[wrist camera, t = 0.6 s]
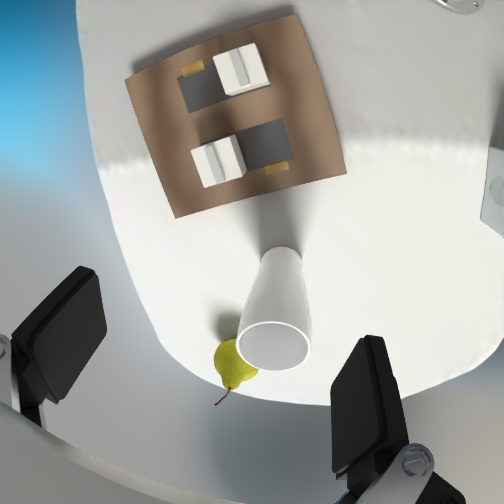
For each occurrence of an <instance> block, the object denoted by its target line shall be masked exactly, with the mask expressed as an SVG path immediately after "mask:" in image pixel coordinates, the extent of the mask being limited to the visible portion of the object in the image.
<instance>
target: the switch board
mask: <svg viewBox="0 0 504 504" xmlns="http://www.w3.org/2000/svg"><path fill="white" fill-rule="evenodd" d="M253 43H255V45H256V46H257V48H258V50H259V53H260V56H261V58H262V61H263V64H264V67H265V70H266V72H267V75H268V78H269V81H270V84H269V85H265V86H262V87H258V88H255V89H252V90H248V91H245V92H242V93H239V94H236V95H233V96H231V95H227V94H226V93H225V90H224V88H223V85H222V82H221V79H220V76H219V73H218V71H217V68H216V65H215V62H214V59H213V57H214V56H217V55H219V54H222V53H225V52H228V51H230V50H233V49H236V48H240V47H243V46H246V45H249V44H253ZM124 81H125V84H126V87H127V90H128V93H129V96H130V99H131V102H132V105H133V108H134V111H135V114H136V116H137V119H138V122H139V125H140V128H141V131H142V133H143V136H144V139H145V142H146V144H147V147H148V150H149V153H150V155H151V158H152V161H153V163H154V166H155V169H156V171H157V174H158V176H159V179H160V181H161V184H162V187H163V189H164V192H165V194H166V197H167V199H168V202H169V204H170V206H171V209H172V211H173V214H174V216H175V219H176V218H180V217H183V216H186V215H190V214H193V213H196V212H200V211H203V210H207V209H210V208H214V207H217V206H221V205H224V204H228V203H231V202H235V201H239V200H242V199H246V198H250V197H253V196H257V195H261V194H265V193H269V192H272V191H276V190H280V189H284V188H288V187H292V186H296V185H300V184H305V183H309V182H313V181H317V180H322V179H326V178H330V177H335V176H339V175H344V174H347V171H346V167H345V163H344V158H343V154H342V150H341V146H340V142H339V138H338V135H337V131H336V127H335V123H334V120H333V116H332V113H331V109H330V106H329V103H328V99H327V96H326V93H325V90H324V86H323V83H322V80H321V77H320V74H319V71H318V68H317V65H316V63H315V60H314V57H313V54H312V51H311V49H310V46H309V43H308V41H307V38H306V35H305V33H304V30H303V28H302V25H301V23H300V20H299V18H298V16H297V14H295V15H290V16H286V17H281V18H277V19H273V20H269V21H266V22H262V23H258V24H255V25H252V26H248V27H245V28H242V29H239V30H235V31H232V32H230V33H227V34H224V35H221V36H218V37H215V38H213V39H210V40H207V41H205V42H202V43H200V44H197V45H195V46H192V47H190V48H188V49H185V50H183V51H181V52H179V53H176V54H174V55H172V56H170V57H168V58H166V59H163V60H161V61H159V62H157V63H155V64H153V65H151V66H149V67H147V68H146V69H144V70H142V71H140V72H138V73H136V74H134V75H133V76H131V77H129V78H127V79H125V80H124ZM232 135H236V138H237V141H238V144H239V147H240V150H241V153H242V156H243V159H244V162H245V165H246V168H247V171H246V173H245V174H244V175H243V177H239V178H236V179H232V180H229V181H226V182H222V183H219V184H216V185H213V186H209V187H206V188H204V186H203V183H202V181H201V178H200V175H199V173H198V170H197V167H196V164H195V162H194V159H193V156H192V153H191V151H190V150H193V149H195V148H197V147H199V146H202V145H205V144H208V143H211V142H214V141H217V140H220V139H223V138H226V137H229V136H232Z"/></svg>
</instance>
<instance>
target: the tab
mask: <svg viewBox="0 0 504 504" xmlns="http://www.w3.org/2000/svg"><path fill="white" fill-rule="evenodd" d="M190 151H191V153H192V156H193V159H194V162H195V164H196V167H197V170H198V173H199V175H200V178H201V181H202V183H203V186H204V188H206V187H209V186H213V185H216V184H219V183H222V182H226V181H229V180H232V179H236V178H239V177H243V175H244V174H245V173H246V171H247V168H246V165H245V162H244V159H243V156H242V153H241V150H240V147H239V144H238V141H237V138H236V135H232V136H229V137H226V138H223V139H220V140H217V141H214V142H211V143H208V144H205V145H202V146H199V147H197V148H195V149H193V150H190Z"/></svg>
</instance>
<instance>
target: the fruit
mask: <svg viewBox="0 0 504 504" xmlns="http://www.w3.org/2000/svg"><path fill="white" fill-rule="evenodd" d="M214 365H215V368H216V370H217V372H218V373H219V374H220V375H221V377H222V382H223V385H224V387H225V388H226V389H227V390H228V392H227V394H226V395H225V396H224V397H223V398H222V399H220V400H219V402H217V403H216V404H215V406H216V405H218V404H219V403H220V402H221V401H222V400H223V399H224V398H225V397H226V396H227V395H228V393H229V392H230V390H234V389H236V388H237V387H238V386H239V384H240V383H241V382H242V381H246V380H248V379H251V378H252V377H254V376H255V375H256V374H257V372H258V370H259V369H257V368H255V367H253V366H251V365H249V364H248V363H246V362H245V361H244V360H243V359H242V358H241V357H240V355H239V354H238V352H237V349H236V338H234V339H229V340H226V341H224V342H222V343H221V344H220V345H219V346H218V348H217V350H216V352H215V355H214Z"/></svg>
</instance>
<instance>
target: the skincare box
mask: <svg viewBox="0 0 504 504" xmlns="http://www.w3.org/2000/svg"><path fill="white" fill-rule="evenodd" d="M480 220H481V221H482V222H484V223H485V224H487V225H488V226H489V227H491V228H492V229H493V230H495V231H496V232H497V233H498V234H500V235H501V236H502V237H503V238H504V150H503V149H499V148H496V147H492V146H490V147H489V155H488V167H487V177H486V185H485V192H484V199H483V206H482V211H481V217H480Z"/></svg>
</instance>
